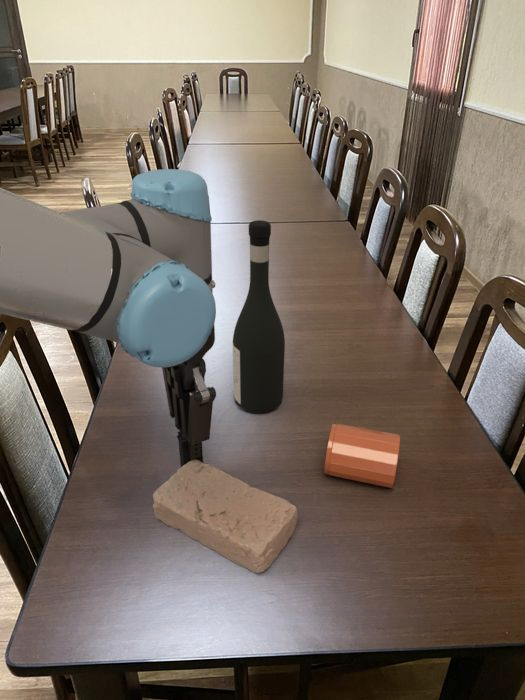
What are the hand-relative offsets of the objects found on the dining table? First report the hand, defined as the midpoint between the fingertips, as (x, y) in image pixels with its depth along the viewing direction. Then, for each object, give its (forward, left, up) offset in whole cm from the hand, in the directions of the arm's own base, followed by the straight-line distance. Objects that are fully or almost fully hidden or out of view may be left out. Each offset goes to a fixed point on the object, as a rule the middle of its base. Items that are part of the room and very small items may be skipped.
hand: (192, 469), depth 73 cm
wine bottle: (+16, +11, -2) cm, 20 cm away
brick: (0, -10, -2) cm, 10 cm away
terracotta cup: (+17, -7, +2) cm, 19 cm away
